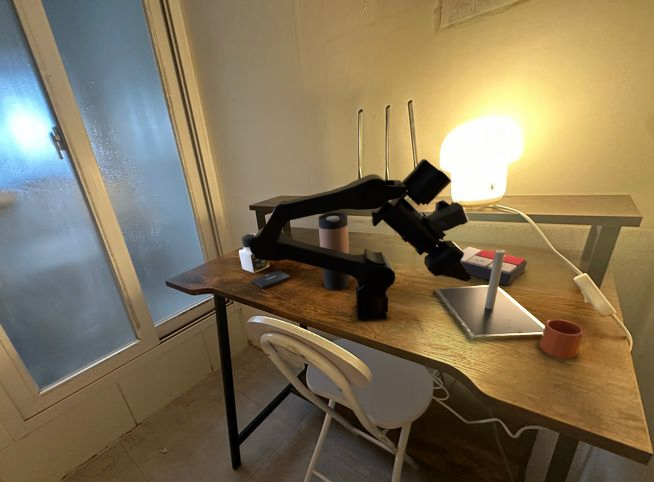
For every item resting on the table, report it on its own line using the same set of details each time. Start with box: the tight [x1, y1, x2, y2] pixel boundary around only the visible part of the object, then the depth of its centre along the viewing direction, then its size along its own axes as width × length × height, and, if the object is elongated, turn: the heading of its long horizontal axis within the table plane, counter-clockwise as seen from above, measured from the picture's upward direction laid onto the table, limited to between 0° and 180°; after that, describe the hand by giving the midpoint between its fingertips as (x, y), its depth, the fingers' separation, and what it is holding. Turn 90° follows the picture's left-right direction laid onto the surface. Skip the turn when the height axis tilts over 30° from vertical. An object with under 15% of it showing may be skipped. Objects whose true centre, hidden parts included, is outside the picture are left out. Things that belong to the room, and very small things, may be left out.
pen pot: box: [539, 318, 586, 359], centre depth 52 cm, size 5×5×5 cm
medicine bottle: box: [238, 233, 270, 274], centre depth 104 cm, size 7×7×12 cm
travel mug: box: [317, 211, 350, 291], centre depth 83 cm, size 8×8×20 cm
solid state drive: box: [252, 269, 291, 289], centre depth 95 cm, size 7×10×1 cm
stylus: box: [485, 249, 506, 309], centre depth 63 cm, size 2×2×13 cm
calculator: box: [461, 246, 528, 286], centre depth 82 cm, size 11×4×15 cm
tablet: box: [434, 284, 545, 341], centre depth 66 cm, size 14×20×1 cm
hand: (461, 270), depth 63 cm, fingers open, 9 cm apart
